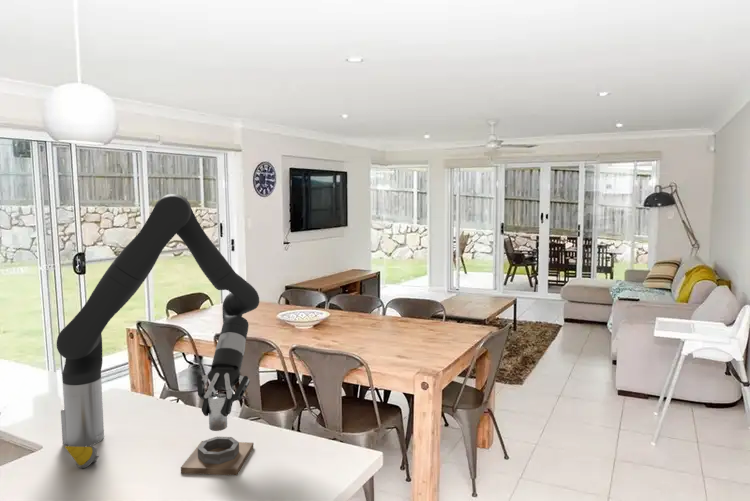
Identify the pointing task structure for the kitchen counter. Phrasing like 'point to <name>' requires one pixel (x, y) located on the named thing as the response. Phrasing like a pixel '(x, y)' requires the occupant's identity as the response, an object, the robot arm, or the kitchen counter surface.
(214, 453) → the socket board
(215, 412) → the steel peg
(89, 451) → the drill bit
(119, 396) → the kitchen counter surface
